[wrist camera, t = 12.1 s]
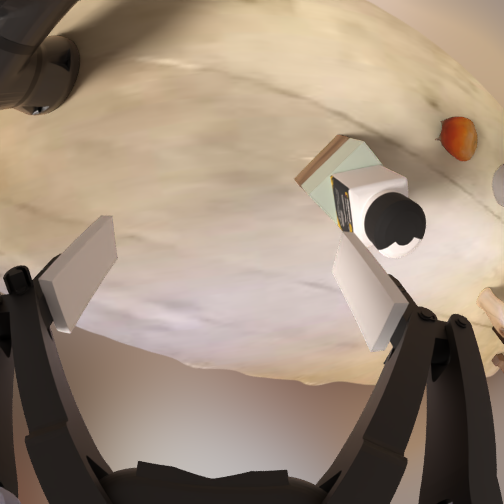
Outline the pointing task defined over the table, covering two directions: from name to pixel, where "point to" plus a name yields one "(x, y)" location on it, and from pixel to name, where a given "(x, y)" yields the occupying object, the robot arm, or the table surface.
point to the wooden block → (499, 361)
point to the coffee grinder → (498, 334)
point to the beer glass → (492, 308)
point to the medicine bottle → (378, 209)
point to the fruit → (459, 137)
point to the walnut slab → (320, 159)
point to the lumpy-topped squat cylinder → (499, 185)
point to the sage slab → (342, 160)
